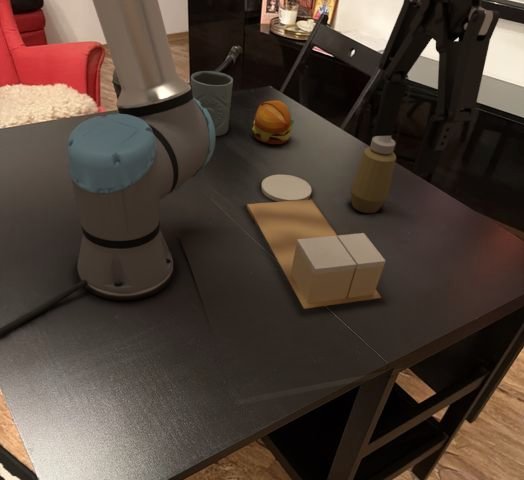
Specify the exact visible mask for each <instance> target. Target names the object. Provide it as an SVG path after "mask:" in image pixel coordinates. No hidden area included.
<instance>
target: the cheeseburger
mask: <svg viewBox="0 0 524 480" xmlns="http://www.w3.org/2000/svg"><path fill="white" fill-rule="evenodd" d="M294 123H295V121H294V119H292V115H291V112H290V110H289V108H288V106H287V104H285V102H283V101H281V100H277V99H276V100H269V101H264V102H261V103H260V104H259V106H258V108H257V110H256V111H255V115H254V120H253V126H252V128H251V129H252V132H253V137H254V138H255V139H256V140H257V141H260V142H262V143H265V144H269V145H282V144H285V143H287V142H288V140H290V137H291V131H292V129H293V125H294Z"/></svg>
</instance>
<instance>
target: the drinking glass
mask: <svg viewBox="0 0 524 480" xmlns="http://www.w3.org/2000/svg"><path fill="white" fill-rule="evenodd" d="M190 83H191V84H190V85H191V90H192V94H193V98H195V99H196V100H198V101H199V102H200V103H201V106H202V107H203V108H206V109H207V111H208V112H209V114H210V116H211V119H212V121H213V124H214V128H215V137H220V136H223V135H225V134H227V133H228V131H229V122H230V114H231V112H230V110H231V105H232V95H233V94H232V93H233V86H234V85H233V84H234V79H233V77H232V76H231V75H228V74H226V73H223V72H219V71H212V70H203V71H197V72H194V73H192V74H191V76H190Z"/></svg>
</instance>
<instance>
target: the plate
mask: <svg viewBox="0 0 524 480" xmlns="http://www.w3.org/2000/svg"><path fill="white" fill-rule="evenodd" d="M260 187H261V188H260V189H261V192H262V194H263V195H264V196H265V197H266V198H268V199H270V200H272V201H273V202H284V201H298V200H310V199H311V196H312V191H313V189H312V187H311V184H309V182H308V181H306V180H304V179H302V178H300V177H297V176H295V175H289V174H273V175H269V176H267V177H265V178H264V179H263V180H262V182H261V186H260Z"/></svg>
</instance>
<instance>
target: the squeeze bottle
mask: <svg viewBox="0 0 524 480" xmlns="http://www.w3.org/2000/svg"><path fill="white" fill-rule="evenodd" d="M396 143H397V142H396V141H395V140H394V139H393V138H392V136H373V137H372V138H371V141H370V146H368V147H367V148H365V149H364V151H363V153H362V156H361V159H360V162H359V164H358V167H357V169H356V173H355V175H354V177H353V181H352V183H351V186H350V189H349V190H350V199H351V206H352V208H354V210H356V211H358V212H360V213H364V214H375V213H377V212H379V210H380V209H381V207H382V206H383V205H384V203H385V202H386V201H387V199H388V198H389V194H390V189H391V185H392V184H391V183H392V180H393V175H394V170H395V165H396V161H397V155H396V154H395V152H394V151H395V147H396Z"/></svg>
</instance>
